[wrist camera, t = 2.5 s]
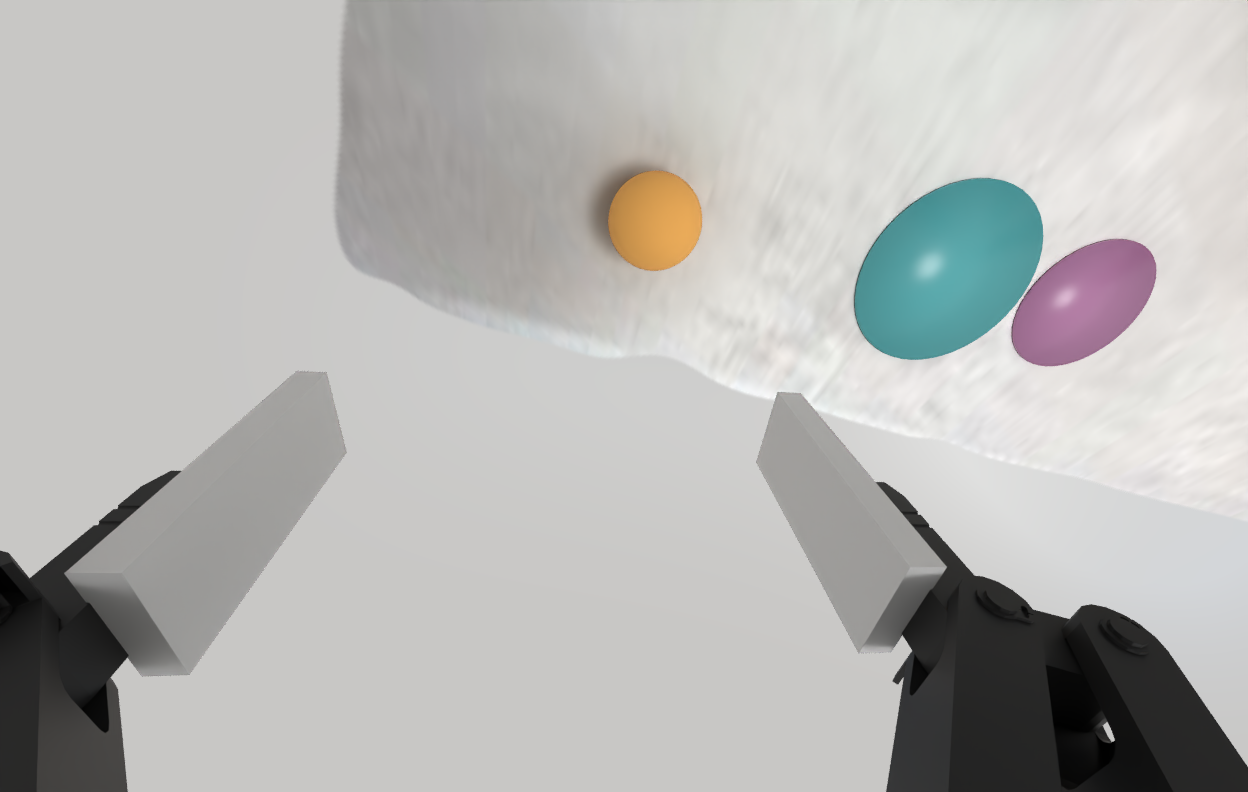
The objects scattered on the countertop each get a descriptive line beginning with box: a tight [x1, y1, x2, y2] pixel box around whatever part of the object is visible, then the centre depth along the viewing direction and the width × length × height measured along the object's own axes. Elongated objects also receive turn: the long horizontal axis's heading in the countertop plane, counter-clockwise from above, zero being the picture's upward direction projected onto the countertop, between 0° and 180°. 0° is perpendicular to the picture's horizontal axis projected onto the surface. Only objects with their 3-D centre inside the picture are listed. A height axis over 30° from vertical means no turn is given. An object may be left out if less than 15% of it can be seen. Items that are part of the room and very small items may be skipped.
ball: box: [608, 171, 702, 271], centre depth 27 cm, size 6×6×6 cm
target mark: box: [855, 178, 1043, 360], centre depth 33 cm, size 13×13×1 cm
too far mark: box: [1012, 239, 1156, 366], centre depth 35 cm, size 10×10×1 cm
